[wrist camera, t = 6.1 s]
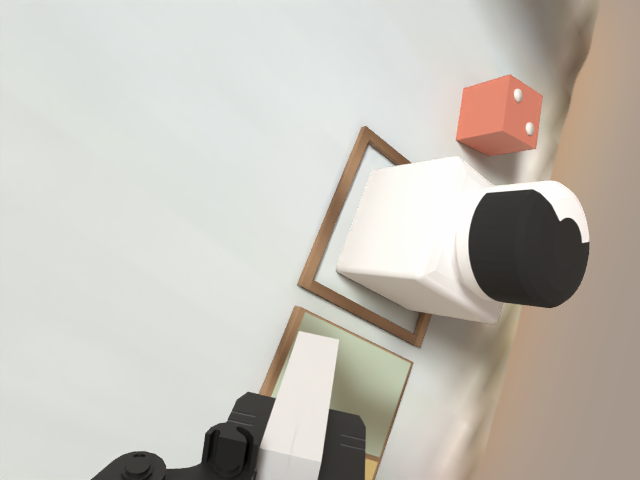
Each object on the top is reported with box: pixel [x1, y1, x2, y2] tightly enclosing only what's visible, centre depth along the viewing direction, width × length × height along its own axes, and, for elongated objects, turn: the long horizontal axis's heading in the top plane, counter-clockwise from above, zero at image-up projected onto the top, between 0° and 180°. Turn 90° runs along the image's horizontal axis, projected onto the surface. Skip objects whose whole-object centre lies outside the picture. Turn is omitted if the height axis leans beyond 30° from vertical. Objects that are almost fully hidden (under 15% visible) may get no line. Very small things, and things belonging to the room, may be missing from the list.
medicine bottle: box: [336, 156, 589, 324], centre depth 28 cm, size 7×7×12 cm
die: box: [456, 75, 543, 156], centre depth 36 cm, size 4×4×4 cm
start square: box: [297, 126, 431, 347], centre depth 33 cm, size 11×11×1 cm
